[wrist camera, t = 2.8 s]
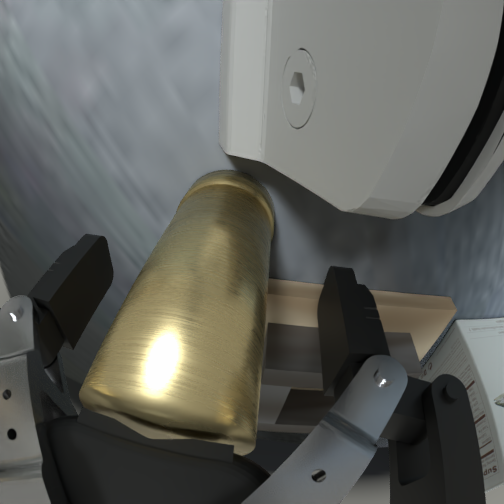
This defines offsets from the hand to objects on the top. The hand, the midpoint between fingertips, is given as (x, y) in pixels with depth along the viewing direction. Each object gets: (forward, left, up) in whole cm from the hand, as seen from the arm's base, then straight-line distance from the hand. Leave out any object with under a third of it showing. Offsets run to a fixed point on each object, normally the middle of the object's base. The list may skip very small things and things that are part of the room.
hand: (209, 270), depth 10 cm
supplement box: (+9, +20, -4) cm, 22 cm away
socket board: (+10, +7, -4) cm, 13 cm away
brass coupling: (0, 0, -4) cm, 4 cm away
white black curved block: (-11, +3, -5) cm, 13 cm away
